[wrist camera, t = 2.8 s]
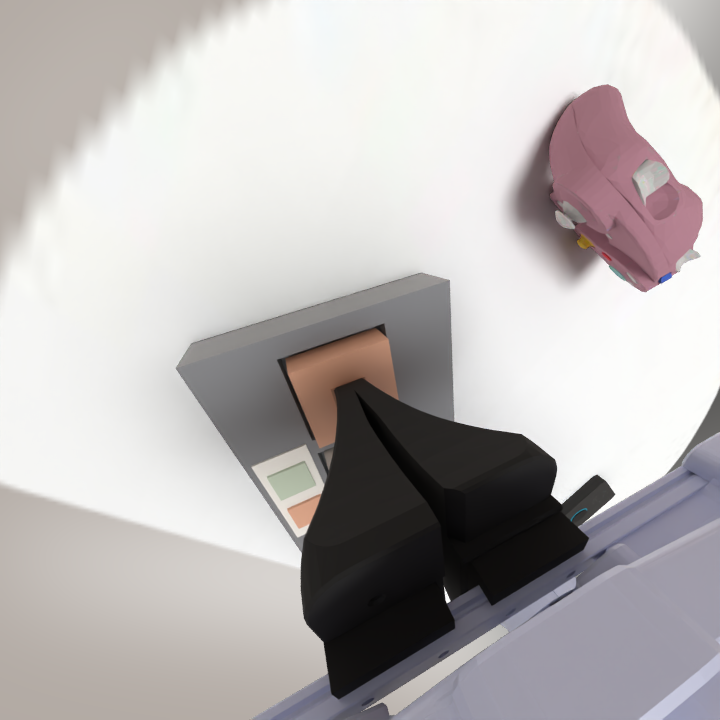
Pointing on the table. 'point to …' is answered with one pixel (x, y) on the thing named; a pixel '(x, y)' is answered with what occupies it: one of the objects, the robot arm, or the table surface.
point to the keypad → (278, 397)
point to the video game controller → (620, 192)
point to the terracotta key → (339, 376)
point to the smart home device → (587, 500)
